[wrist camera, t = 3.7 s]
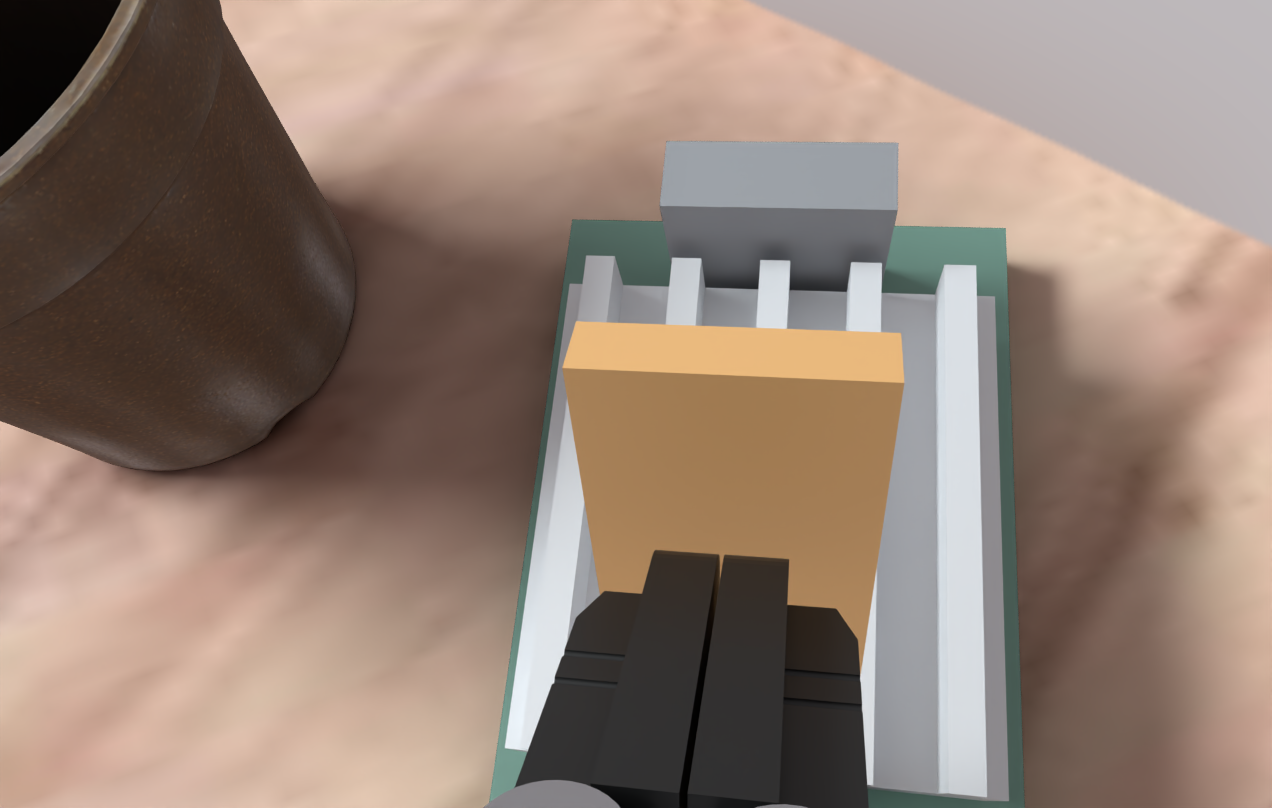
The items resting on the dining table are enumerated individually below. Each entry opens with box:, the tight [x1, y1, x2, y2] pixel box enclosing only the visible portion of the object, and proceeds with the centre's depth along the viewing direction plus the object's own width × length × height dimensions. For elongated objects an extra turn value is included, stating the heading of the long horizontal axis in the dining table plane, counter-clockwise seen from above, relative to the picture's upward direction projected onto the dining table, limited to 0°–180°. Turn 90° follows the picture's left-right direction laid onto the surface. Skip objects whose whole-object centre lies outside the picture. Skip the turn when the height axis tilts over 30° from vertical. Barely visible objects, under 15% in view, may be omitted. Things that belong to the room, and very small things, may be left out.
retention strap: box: [562, 321, 904, 676], centre depth 16 cm, size 15×4×1 cm
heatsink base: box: [489, 141, 1025, 808], centre depth 27 cm, size 14×22×8 cm, turn 174°
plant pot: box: [0, 0, 356, 471], centre depth 29 cm, size 16×16×16 cm
